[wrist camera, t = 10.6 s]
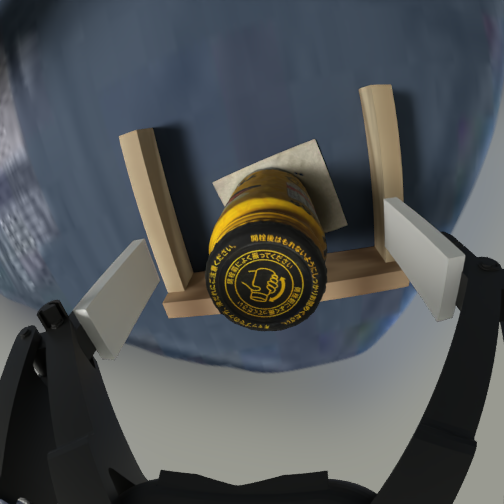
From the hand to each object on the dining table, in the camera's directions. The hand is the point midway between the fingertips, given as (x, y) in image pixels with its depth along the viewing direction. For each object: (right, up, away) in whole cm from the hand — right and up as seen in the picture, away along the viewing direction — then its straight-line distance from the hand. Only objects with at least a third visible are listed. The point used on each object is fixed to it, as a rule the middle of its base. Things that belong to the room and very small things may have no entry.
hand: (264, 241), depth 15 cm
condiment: (+2, +3, +8) cm, 8 cm away
